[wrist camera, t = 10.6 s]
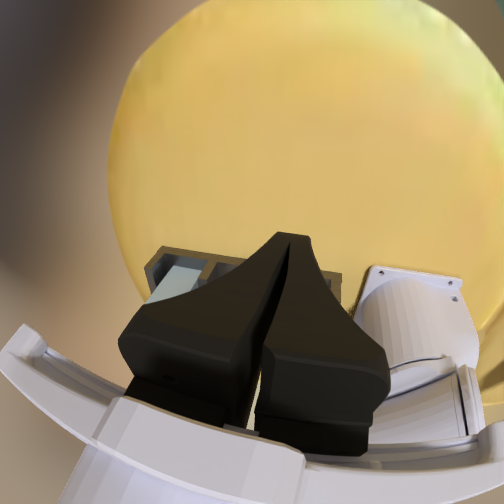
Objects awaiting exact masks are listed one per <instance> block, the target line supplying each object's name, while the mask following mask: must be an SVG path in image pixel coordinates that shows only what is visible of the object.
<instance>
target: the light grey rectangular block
mask: <svg viewBox="0 0 504 504" xmlns="http://www.w3.org/2000/svg"><path fill="white" fill-rule="evenodd" d="M201 272H202V271H201V270H195V269H190V268H184V267H179V266H173V267H172V268H171V269H170V271H169V272H168V273H167V275H166V276H165V277H164V279H163V280H162V281H161V283H160V284H159V285H158V287H157V288H156V289H155V291H154V292H153V293H152V295H151V296H150V297H149V299H148V300H147V301H146V303H145V304H148V303H152V302H156V301H160V300H164V299H168V298H171V297H174V296H177V295H180V294H183V293H186V292H189V291H191V290H194V289H196V288H199V286H198V279H197V278H198V276H199V275H200V273H201Z"/></svg>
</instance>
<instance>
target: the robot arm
mask: <svg viewBox="0 0 504 504" xmlns="http://www.w3.org/2000/svg"><path fill="white" fill-rule="evenodd" d="M380 271H383V272H382V273H379V272H380ZM450 281H451V282H450ZM448 282H450V283H448ZM462 284H463V281H462V279H461V278H457V277H451V276H444V275H438V274H431V273H425V272H418V271H412V270H405V269H399V268H392V267H385V266H379V265H374V266H372V267H371V268H370V270H369V273H368V276H367V279H366V283H365V286H364V289H363V292H362V295H361V297H360V300H359V303H358V306H357V309H356V312H355V314H354V317H353V319H352V318H351V317H350V316H349V314H348V313H347V312H346V311H345V310H344V308H343V307H342V306H341V304H340V303H339V301H338V300H337V299H336V297H335V296H334V294H333V292H332V291H331V289H330V288H329V286H328V284H327V282H326V280H325V278H324V276H323V274H322V272H321V270H320V268H319V266H318V263H317V261H316V258H315V256H314V253H313V249H312V246H311V239H310V237H309V236H306V235H299V234H291V233H284V232H277V233H275V234H274V235H273V236H272V237H271V238H270V239H269V240H268V241H267V242H266V243H265V244H264V245H263V246H262V247H261V248H260V249H259V250H257V251H256V252H255V253H254V254H253V255H252V256H250V257H249V258H248V259H247V260H245V261H244V262H243V263H241V264H240V265H239V266H237V267H236V268H234V269H233V270H231V271H230V272H228V273H226V274H225V275H223V276H221V277H219V278H218V279H216V280H213V281H211V282H209V283H207V284H205V285H203V286H201V287H199V288H196V289H194V290H191V291H189V292H186V293H183V294H180V295H177V296H174V297H171V298H168V299H164V300H160V301H156V302H152V303H148V304H144V305H142V306H141V308H140V309H139V310H138V311H137V312H136V314H135V315H134V316H133V318H132V319H131V321H130V322H129V324H128V325H127V327H126V328H125V329H124V331H123V332H122V334H121V335H120V337H119V338H118V346H119V349H120V352H121V354H122V356H123V358H124V359H125V361H126V363H127V365H128V366H129V368H130V370H131V371H132V373H133V374H134V378H133V379H132V381H131V383H130V385H129V386H128V388H127V389H125V388H123V387H121V386H119V385H117V384H115V383H113V382H110V381H108V380H106V379H104V378H102V377H100V376H98V375H96V374H94V373H92V372H91V371H89V370H87V369H85V368H83V367H82V366H80V365H78V364H76V363H75V362H73V361H71V360H69V359H67V358H66V357H64V356H63V355H61V354H59V353H58V352H56V351H55V350H53V349H51V348H50V347H48V344H47V342H46V341H45V340H44V338H43V337H42V336H41V335H40V334H39V333H38V332H37V331H36V330H34V329H33V328H31V327H30V326H28V325H27V324H25V323H23V325H22V326H21V327H20V328H19V329H18V330H17V332H16V333H15V334H14V335H13V336H12V338H11V339H10V340H9V341H8V343H7V344H6V345H5V346H4V348H3V349H2V350H1V352H0V371H1V372H2V373H3V374H4V375H5V376H6V378H8V380H9V381H10V382H11V383H13V385H14V386H15V387H16V388H18V390H19V391H20V392H21V393H22V394H24V395H25V396H26V397H27V398H28V399H29V400H30V401H31V402H33V403H34V404H35V405H36V406H37V407H38V408H39V409H41V410H42V411H43V412H44V413H45V414H47V415H48V416H49V417H50V418H52V419H53V420H54V421H55V422H57V423H58V424H59V425H61V426H62V427H63V428H65V429H66V430H68V431H69V432H70V433H72V434H73V435H75V436H76V437H77V438H79V439H80V440H82V441H83V442H85V443H86V444H87V446H86V448H85V449H84V451H83V453H82V455H81V457H80V459H79V461H78V463H77V465H76V466H75V469H74V470H73V472H72V474H71V476H70V478H69V480H68V482H67V484H66V486H65V488H64V490H63V493H62V494H61V496H60V499H59V500H58V502H57V504H453V503H455V502H458V501H461V500H464V499H468V498H471V497H473V496H476V495H479V494H481V493H484V492H486V491H489V490H491V489H494V488H496V487H498V486H501V485H503V484H504V420H501V421H497V422H494V423H492V424H490V425H488V426H485V420H484V412H483V407H482V401H481V396H480V391H479V386H478V382H477V378H476V374H475V369H476V366H477V362H478V357H479V340H478V335H477V332H476V329H475V327H474V324H473V321H472V319H471V316H470V314H469V311H468V309H467V306H466V304H465V301H464V299H463V297H462V295H461V292H460V288H461V286H462ZM261 368H262V369H261ZM260 372H261V383H260V392H259V396H258V399H257V403H256V406H255V410H254V413H255V423H254V431H253V430H249V429H246V427H247V423H248V419H249V415H250V411H251V407H252V404H253V400H254V396H255V391H256V388H257V384H258V380H259V376H260Z"/></svg>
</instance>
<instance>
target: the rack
mask: <svg viewBox="0 0 504 504" xmlns="http://www.w3.org/2000/svg"><path fill="white" fill-rule="evenodd" d="M245 260H247V259H242V258H235V257H229V256H222V255H216V254H209V253H203V252H197V251H190V250H184V249H178V248H171V247H165V246H161V247H160V249H159V250H158V251H157V253H156V254H155V255H154V256H153V258H152V259H151V260H150V261H149V262H148V263H147V264H146V265H145V267H144V270H145V274H146V277H147V281H148V284H149V288H150V291H151V295H152V293H153V292H154V291H155V289H156V288H157V287H158V285H159V284H160V283H161V281H162V280H163V279H164V277H165V276H166V275H167V273H168V272H169V271H170V269H171V268H172V267H173V266H179V267H184V268H190V269H195V270H201V271H202V272H201V273H200V275H199V276H198V278H197V279H198V286H199V287H201V286H203V285H205V284H207V283H209V282H211V281H213V280H216V279H218V278H219V277H221V276H223V275H225V274H226V273H228V272H230V271H231V270H233V269H234V268H236V267H237V266H239V265H240V264H241V263H243V262H244V261H245ZM321 272H322V274H323V276H324V278H325V280H326V282H327V284H328V286H329V288H330V289H331V291H332V292H333V294H334V296H335V297H336V299H337V300H338V301H339V303H341V283H342V273H335V272H328V271H322V270H321Z"/></svg>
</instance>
